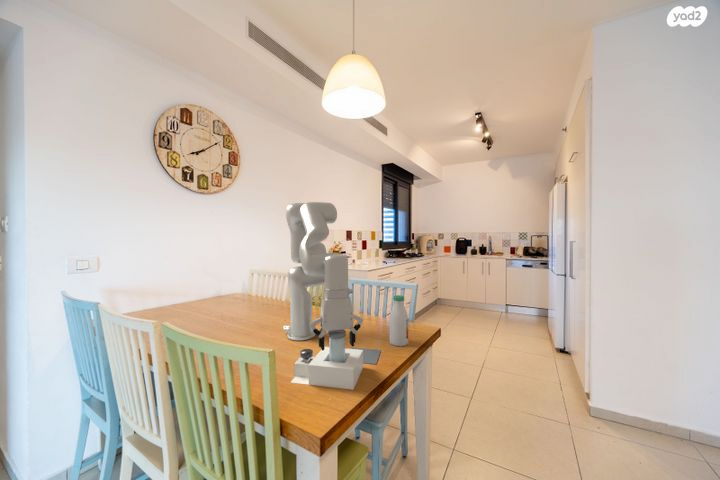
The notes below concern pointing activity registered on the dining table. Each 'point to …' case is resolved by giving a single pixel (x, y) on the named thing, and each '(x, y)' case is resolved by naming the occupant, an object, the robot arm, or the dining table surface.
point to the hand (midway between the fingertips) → (337, 346)
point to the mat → (369, 355)
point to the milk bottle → (398, 322)
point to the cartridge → (337, 346)
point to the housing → (330, 370)
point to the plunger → (306, 354)
